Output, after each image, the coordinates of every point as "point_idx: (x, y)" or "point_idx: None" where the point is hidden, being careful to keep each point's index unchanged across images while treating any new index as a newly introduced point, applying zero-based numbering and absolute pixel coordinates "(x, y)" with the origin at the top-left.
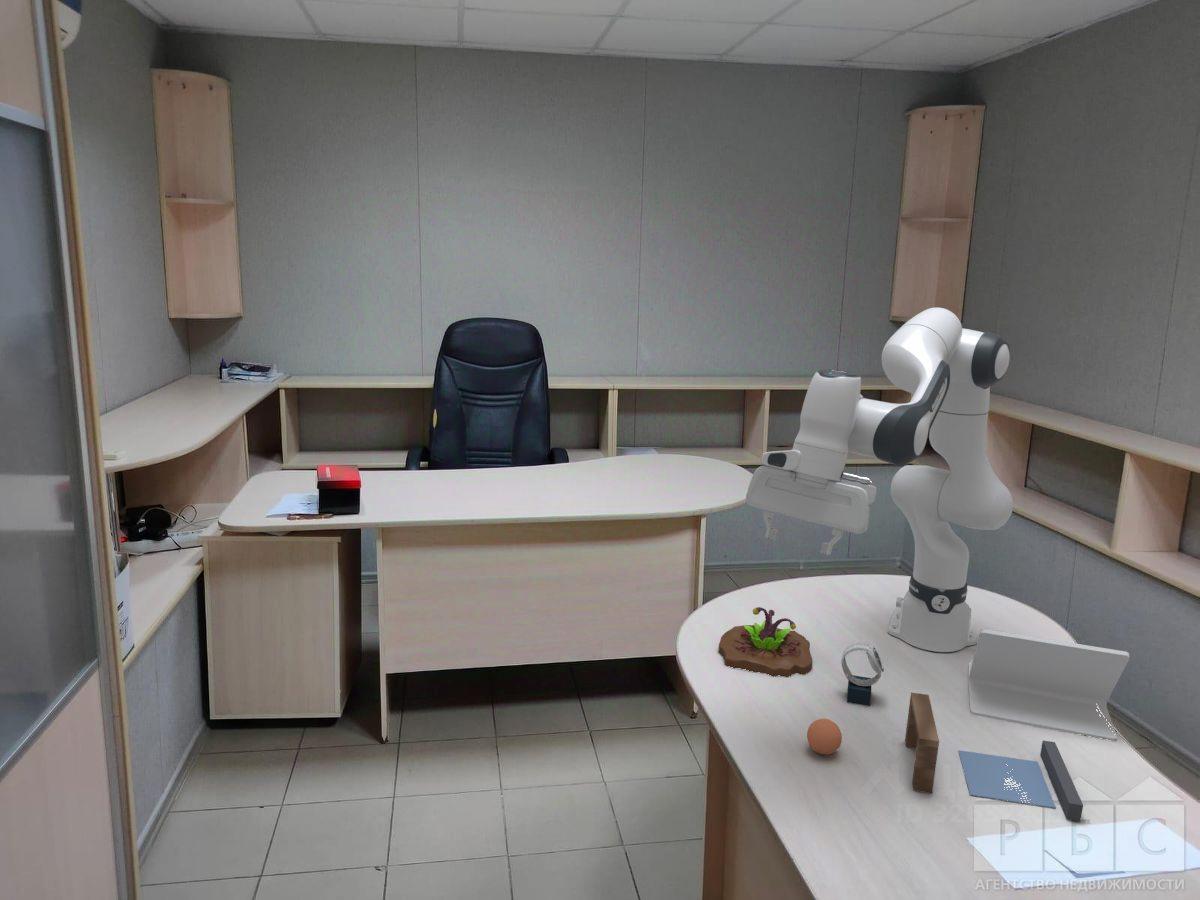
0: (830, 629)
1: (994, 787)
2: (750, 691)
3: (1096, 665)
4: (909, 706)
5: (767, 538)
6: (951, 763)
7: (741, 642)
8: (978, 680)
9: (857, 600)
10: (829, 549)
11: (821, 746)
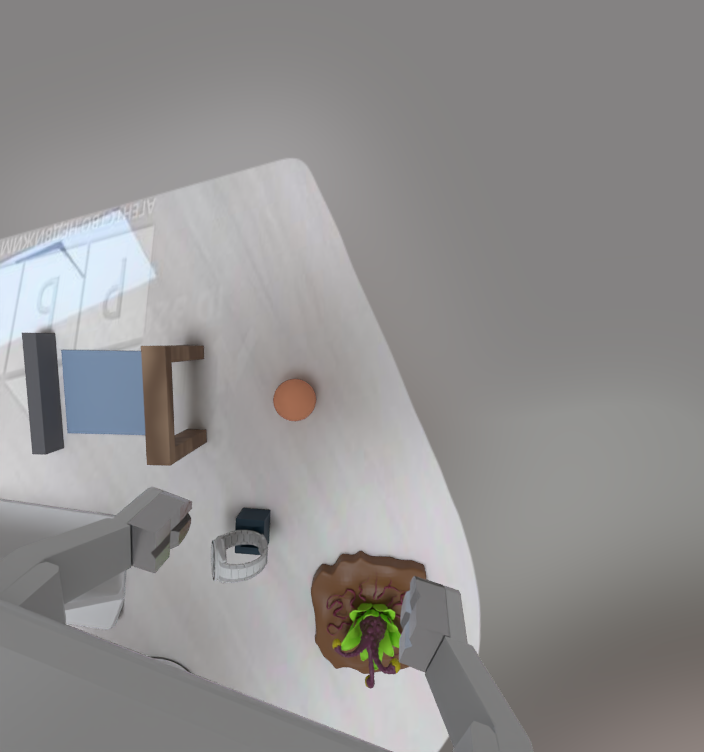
0: (288, 691)
1: (118, 371)
2: (387, 508)
3: None
4: (181, 455)
5: (444, 586)
6: None
7: None
8: (108, 590)
9: None
10: (134, 501)
11: (298, 379)
